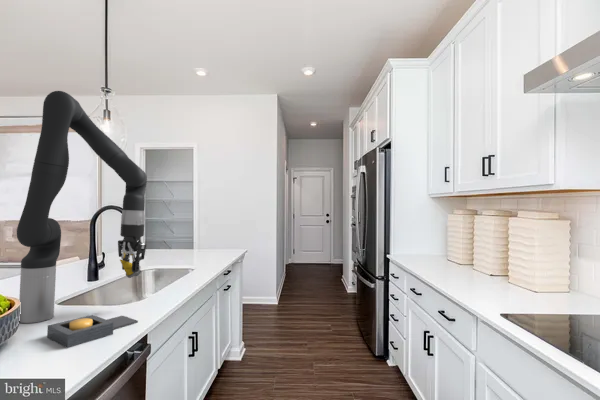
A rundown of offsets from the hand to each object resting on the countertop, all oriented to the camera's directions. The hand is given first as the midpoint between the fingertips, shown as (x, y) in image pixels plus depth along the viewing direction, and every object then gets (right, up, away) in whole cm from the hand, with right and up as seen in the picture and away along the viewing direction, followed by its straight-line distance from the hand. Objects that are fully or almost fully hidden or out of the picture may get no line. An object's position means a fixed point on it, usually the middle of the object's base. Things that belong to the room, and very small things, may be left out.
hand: (130, 270), depth 119 cm
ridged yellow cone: (0, -3, 0) cm, 3 cm away
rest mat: (+1, -15, -11) cm, 19 cm away
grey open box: (-3, -14, -22) cm, 27 cm away
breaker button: (-3, -12, -22) cm, 26 cm away
